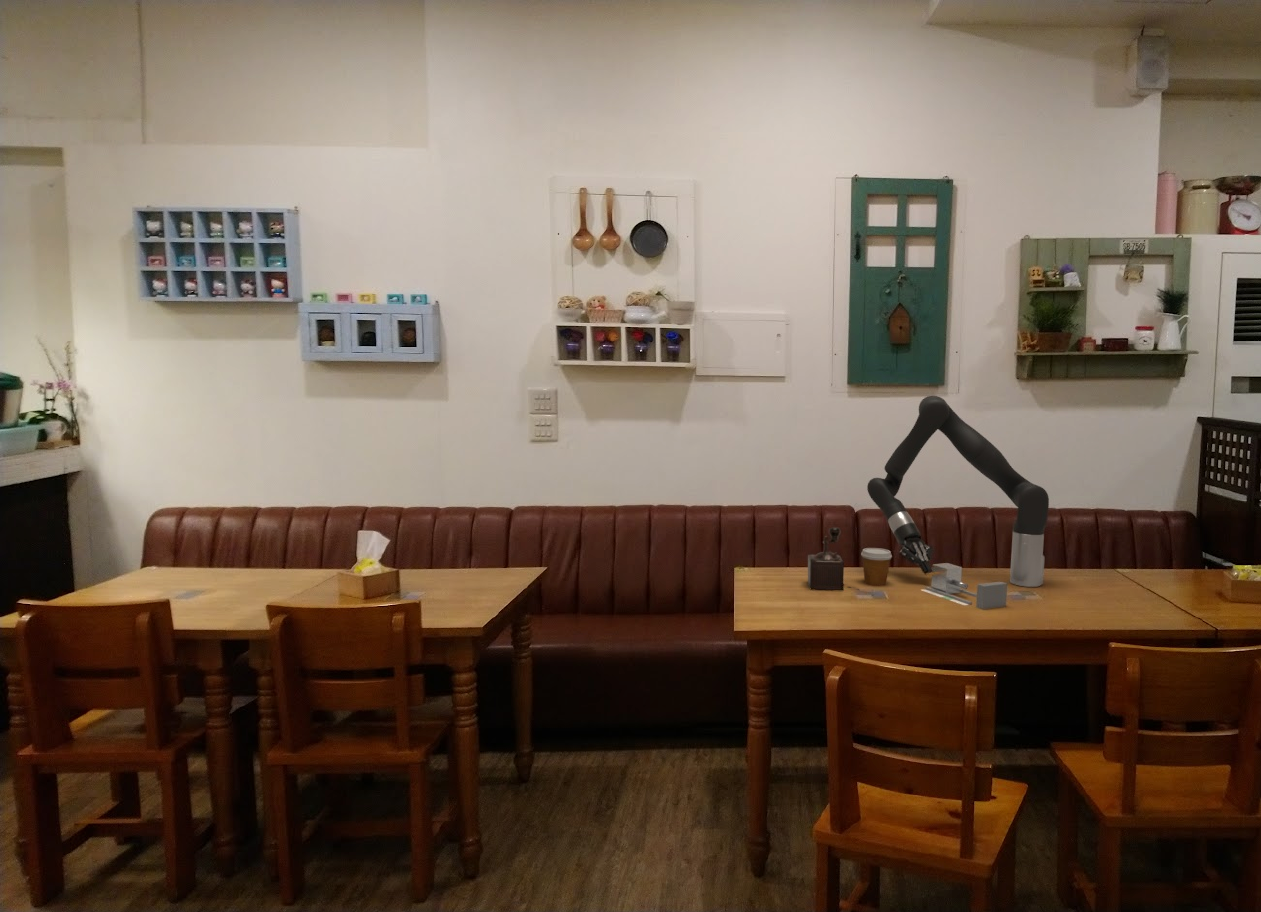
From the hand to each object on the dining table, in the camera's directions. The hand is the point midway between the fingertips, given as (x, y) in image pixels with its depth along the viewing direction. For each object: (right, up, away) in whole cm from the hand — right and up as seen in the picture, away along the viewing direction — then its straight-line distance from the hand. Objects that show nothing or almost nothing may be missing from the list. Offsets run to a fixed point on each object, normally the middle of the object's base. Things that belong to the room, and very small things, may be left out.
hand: (929, 573), depth 255 cm
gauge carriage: (+1, -5, -10) cm, 11 cm away
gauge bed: (+6, -7, -13) cm, 15 cm away
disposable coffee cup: (-16, -5, +3) cm, 17 cm away
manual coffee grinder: (-32, -5, +6) cm, 33 cm away
